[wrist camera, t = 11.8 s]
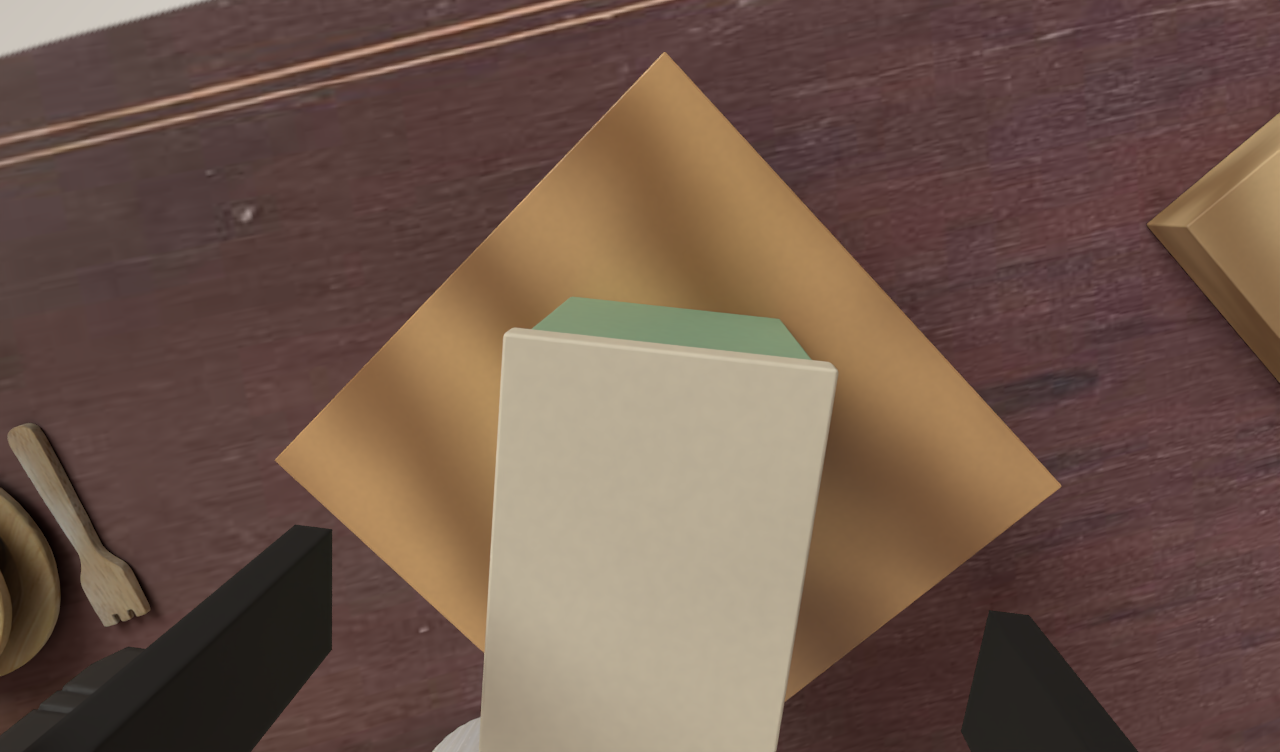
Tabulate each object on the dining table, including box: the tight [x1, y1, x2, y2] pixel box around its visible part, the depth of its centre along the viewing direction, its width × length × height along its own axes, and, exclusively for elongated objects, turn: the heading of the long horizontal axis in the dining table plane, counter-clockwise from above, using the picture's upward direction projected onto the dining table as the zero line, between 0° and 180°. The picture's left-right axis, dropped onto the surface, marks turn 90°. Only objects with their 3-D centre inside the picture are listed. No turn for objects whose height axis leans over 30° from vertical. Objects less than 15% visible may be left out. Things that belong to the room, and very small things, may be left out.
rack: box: [275, 52, 1061, 702], centre depth 31 cm, size 18×18×14 cm
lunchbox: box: [479, 297, 838, 752], centre depth 21 cm, size 11×7×8 cm, turn 174°
